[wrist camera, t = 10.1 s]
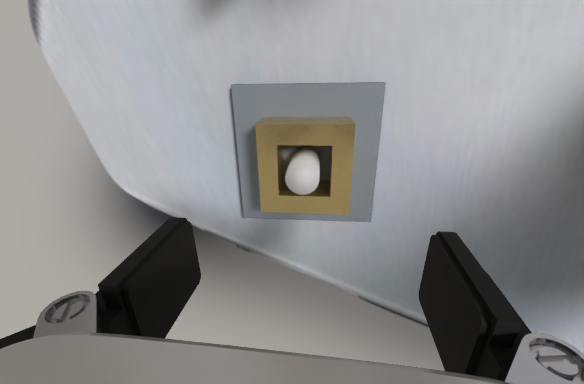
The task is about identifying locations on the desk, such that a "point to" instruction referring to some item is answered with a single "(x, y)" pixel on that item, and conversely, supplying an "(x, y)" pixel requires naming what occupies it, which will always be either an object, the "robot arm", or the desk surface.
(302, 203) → the collar
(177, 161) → the desk surface
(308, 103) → the post plate
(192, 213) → the desk surface
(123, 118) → the desk surface
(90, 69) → the desk surface
